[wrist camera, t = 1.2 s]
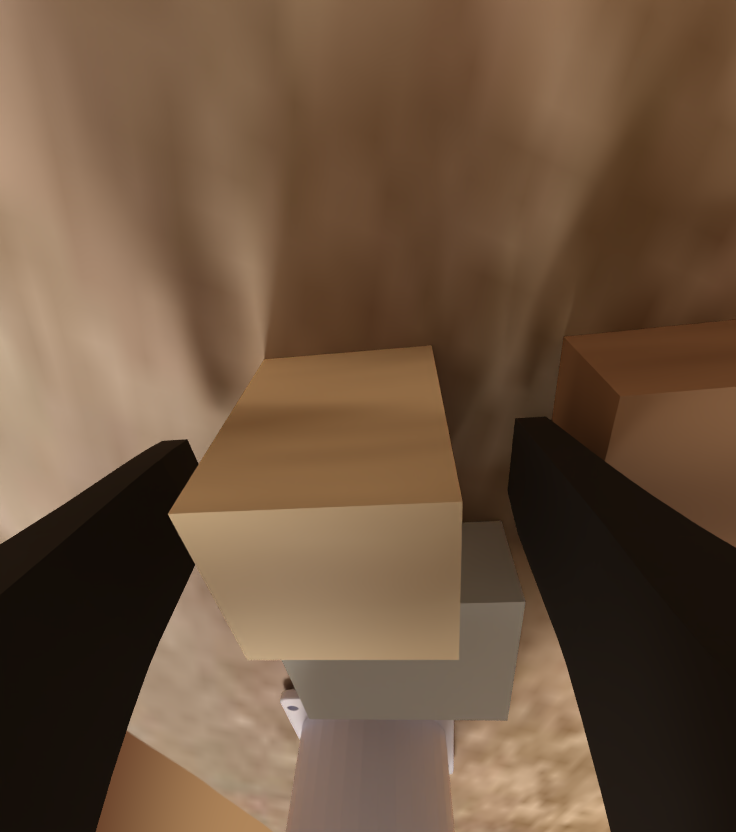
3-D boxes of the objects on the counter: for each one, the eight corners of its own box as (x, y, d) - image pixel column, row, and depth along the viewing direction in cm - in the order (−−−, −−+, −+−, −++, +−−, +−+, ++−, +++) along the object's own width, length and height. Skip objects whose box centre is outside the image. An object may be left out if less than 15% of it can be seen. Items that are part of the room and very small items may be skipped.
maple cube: (434, 474, 11) (458, 659, 7) (298, 481, 12) (247, 660, 8) (431, 344, 9) (462, 502, 5) (264, 358, 10) (168, 514, 6)
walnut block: (769, 524, 12) (867, 619, 10) (531, 535, 13) (565, 626, 10) (903, 295, 8) (1118, 354, 6) (558, 331, 9) (620, 396, 7)
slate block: (489, 633, 16) (507, 720, 14) (321, 636, 17) (309, 719, 15) (498, 512, 13) (525, 601, 10) (282, 523, 13) (257, 608, 11)
